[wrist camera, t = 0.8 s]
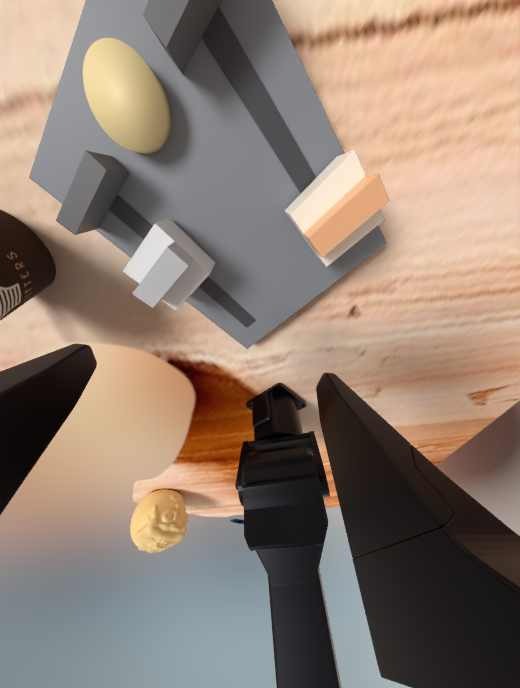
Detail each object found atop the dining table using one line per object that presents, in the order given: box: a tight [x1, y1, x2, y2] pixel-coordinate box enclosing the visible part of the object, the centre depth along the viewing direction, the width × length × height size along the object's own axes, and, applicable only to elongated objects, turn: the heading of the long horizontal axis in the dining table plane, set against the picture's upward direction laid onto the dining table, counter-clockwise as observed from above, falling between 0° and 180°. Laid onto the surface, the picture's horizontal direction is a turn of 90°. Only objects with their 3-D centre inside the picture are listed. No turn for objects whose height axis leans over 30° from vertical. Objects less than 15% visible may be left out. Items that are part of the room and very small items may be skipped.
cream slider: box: [285, 151, 390, 267], centre depth 12 cm, size 4×4×4 cm
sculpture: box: [130, 489, 188, 553], centre depth 48 cm, size 11×12×11 cm
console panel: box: [29, 0, 387, 349], centre depth 13 cm, size 19×15×4 cm
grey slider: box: [123, 218, 215, 310], centre depth 14 cm, size 4×4×4 cm
